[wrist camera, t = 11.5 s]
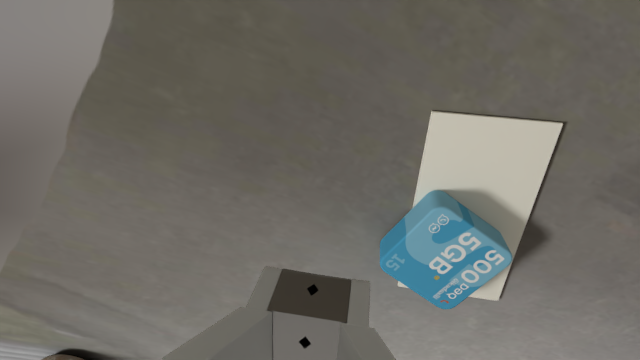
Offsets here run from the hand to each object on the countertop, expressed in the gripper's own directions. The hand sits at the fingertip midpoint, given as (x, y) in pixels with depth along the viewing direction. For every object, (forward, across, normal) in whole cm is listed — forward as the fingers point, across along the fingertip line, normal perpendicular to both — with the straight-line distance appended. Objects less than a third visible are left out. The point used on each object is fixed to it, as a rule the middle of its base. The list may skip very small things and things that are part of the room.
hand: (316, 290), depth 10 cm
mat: (+34, -15, +16) cm, 41 cm away
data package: (+31, -7, +17) cm, 36 cm away
